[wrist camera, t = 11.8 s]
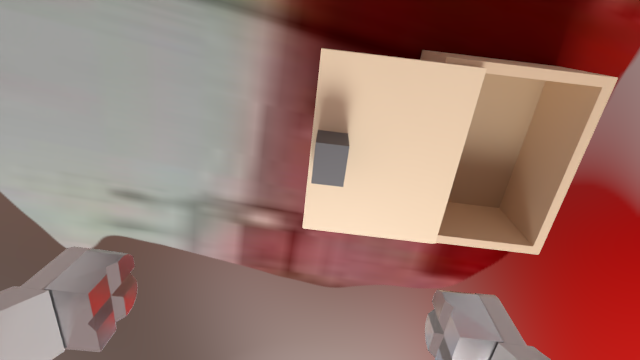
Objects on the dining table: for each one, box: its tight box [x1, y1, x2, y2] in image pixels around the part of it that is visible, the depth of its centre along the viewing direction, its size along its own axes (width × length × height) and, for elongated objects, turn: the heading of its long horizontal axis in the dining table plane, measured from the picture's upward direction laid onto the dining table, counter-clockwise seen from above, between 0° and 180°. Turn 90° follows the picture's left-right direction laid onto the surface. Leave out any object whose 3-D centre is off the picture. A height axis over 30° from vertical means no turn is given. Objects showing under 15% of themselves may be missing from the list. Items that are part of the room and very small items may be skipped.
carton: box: [420, 50, 618, 254], centre depth 41 cm, size 20×16×10 cm
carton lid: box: [303, 48, 487, 244], centre depth 34 cm, size 19×15×5 cm
